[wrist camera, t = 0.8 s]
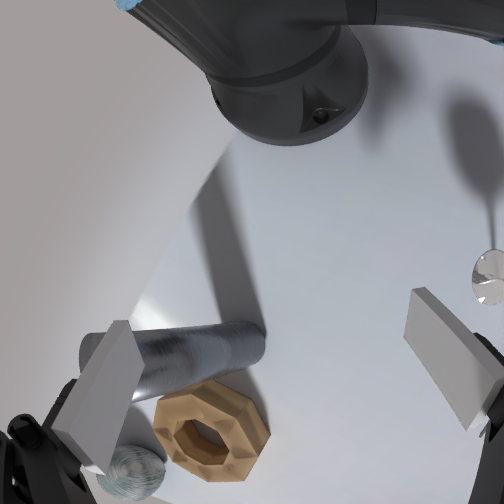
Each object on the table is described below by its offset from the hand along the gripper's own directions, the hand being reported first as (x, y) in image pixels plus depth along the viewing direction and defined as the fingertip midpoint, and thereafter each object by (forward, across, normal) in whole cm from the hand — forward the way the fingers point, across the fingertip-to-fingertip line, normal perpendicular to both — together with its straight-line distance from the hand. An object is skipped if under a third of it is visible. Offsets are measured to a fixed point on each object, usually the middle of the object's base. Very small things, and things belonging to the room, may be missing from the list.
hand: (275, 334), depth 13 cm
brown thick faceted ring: (+11, -7, -21) cm, 24 cm away
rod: (+12, -2, -10) cm, 16 cm away
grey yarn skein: (+12, -21, -34) cm, 41 cm away
